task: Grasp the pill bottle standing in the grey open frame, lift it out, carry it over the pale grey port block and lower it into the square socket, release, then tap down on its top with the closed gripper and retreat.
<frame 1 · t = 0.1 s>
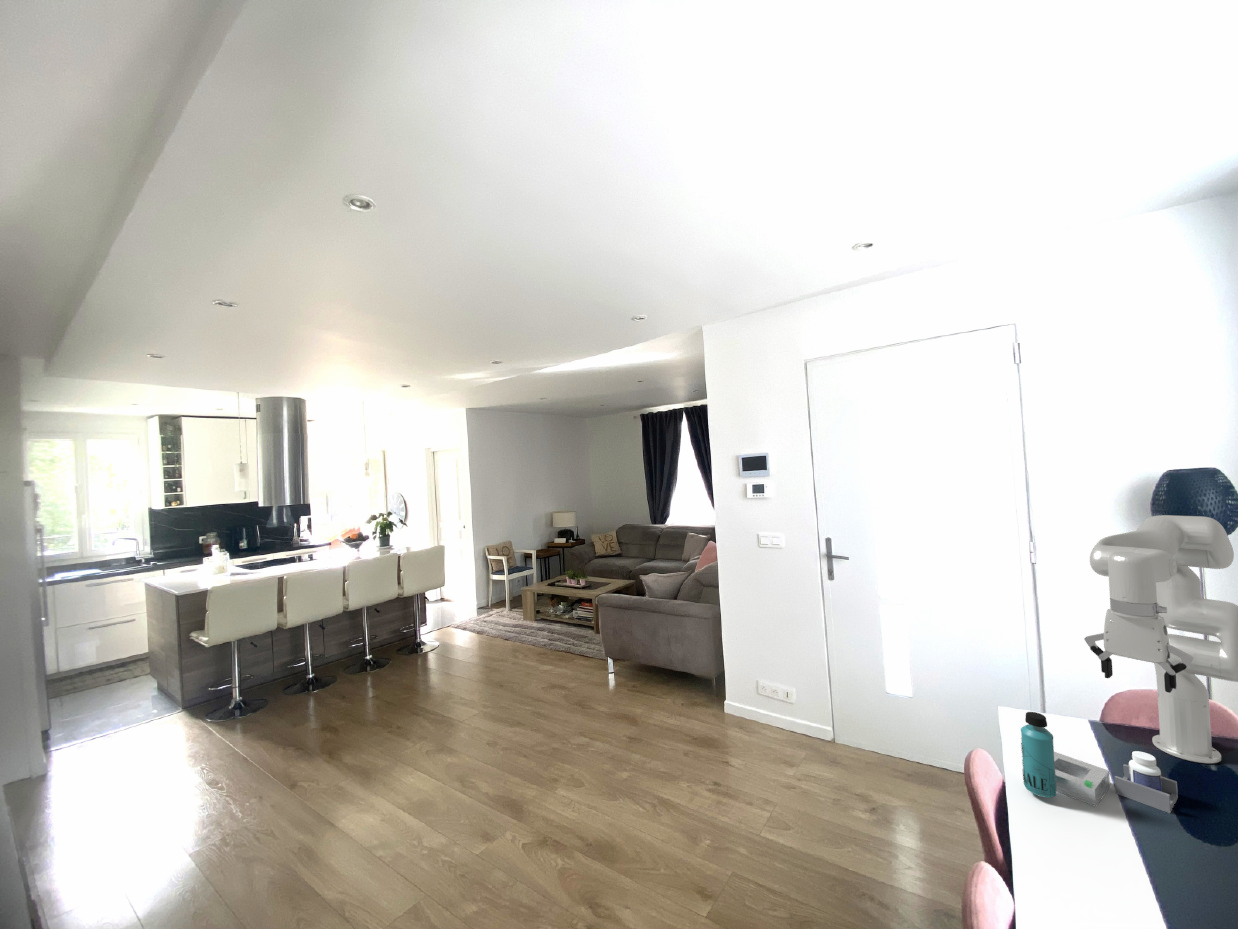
hand: (1137, 683, 113), 31 cm above the table, fingers open, 9 cm apart
beverage bottle: (1040, 796, 123), on the table
port: (1070, 784, 127), on the table
grey open frame: (1146, 795, 121), on the table
pill bottle: (1146, 796, 121), resting in grey open frame
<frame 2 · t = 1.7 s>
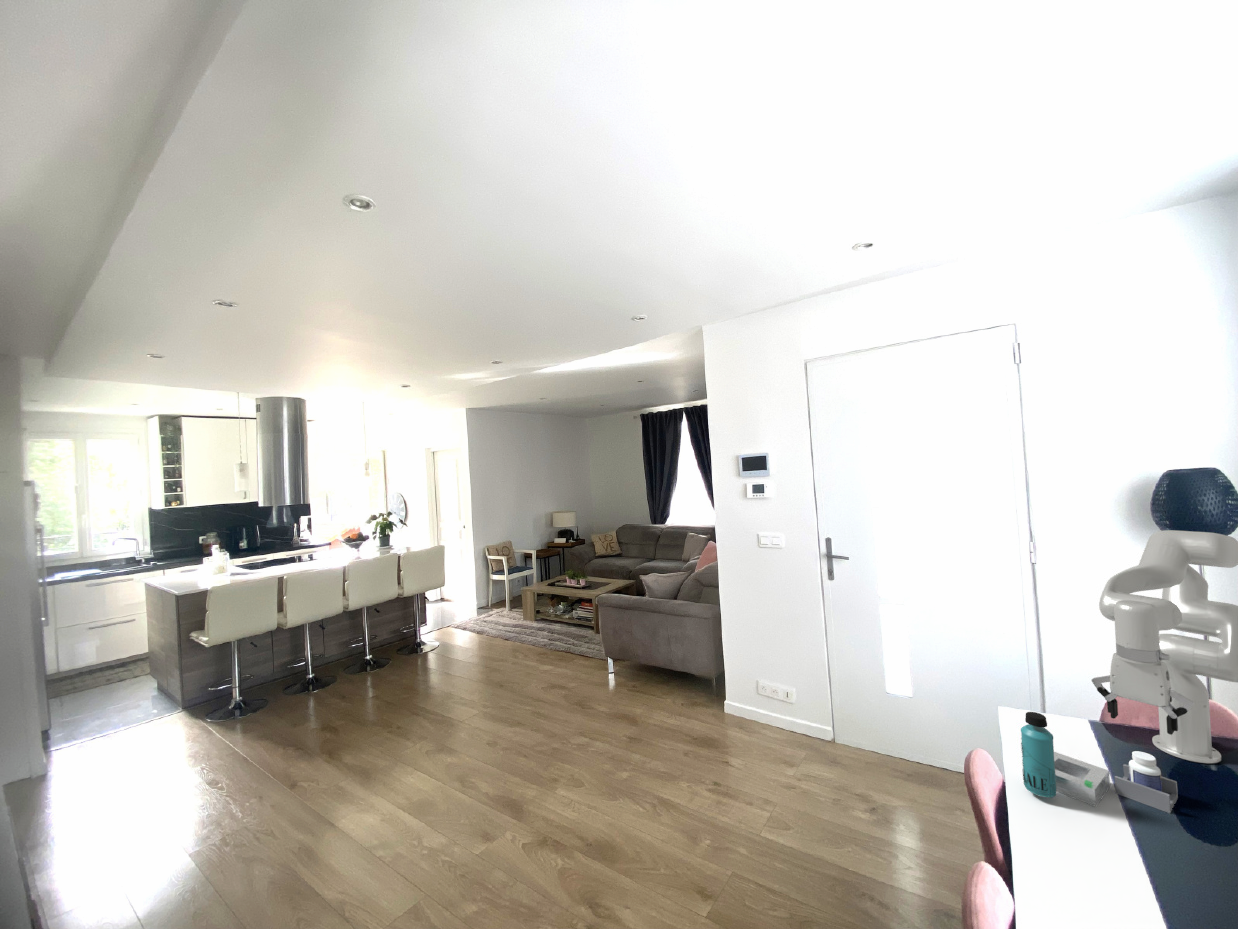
hand: (1141, 724, 122), 17 cm above the table, fingers open, 9 cm apart
nothing on the table moved.
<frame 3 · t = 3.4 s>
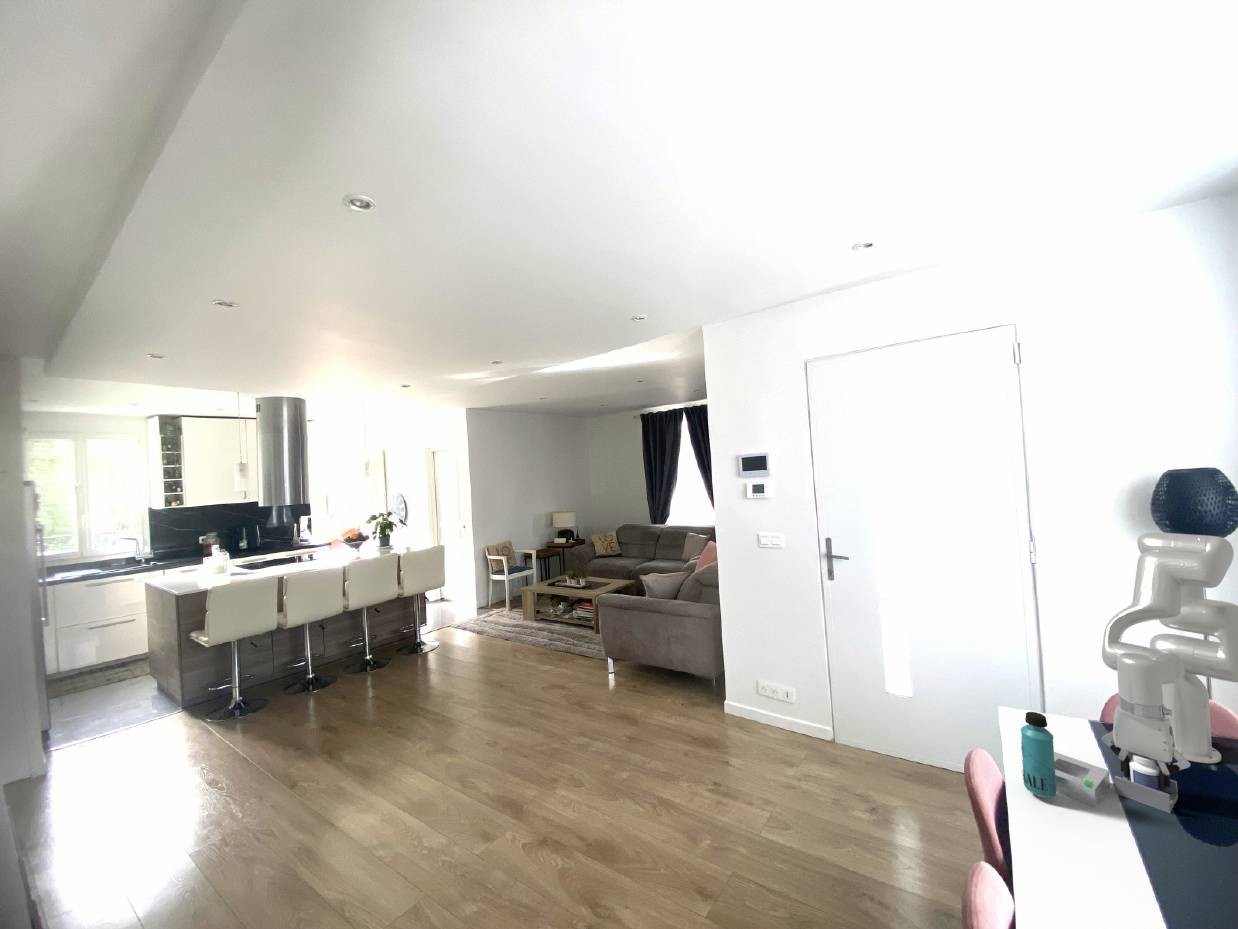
hand: (1145, 781, 122), 4 cm above the table, fingers closed on pill bottle, 5 cm apart
pill bottle: (1146, 796, 121), resting in grey open frame, touching gripper
everything else where it was.
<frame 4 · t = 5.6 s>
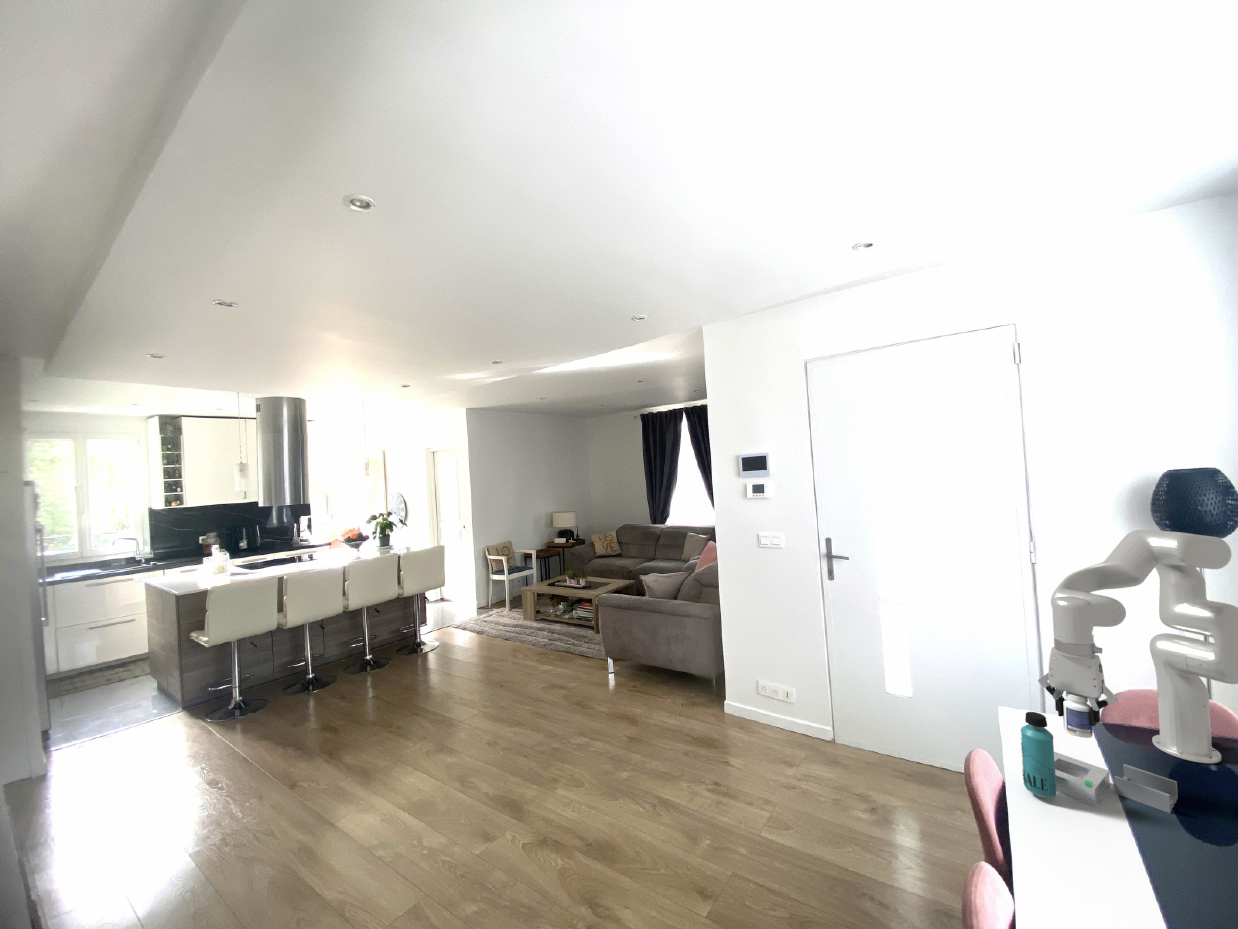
hand: (1077, 718, 126), 17 cm above the table, fingers closed on pill bottle, 5 cm apart
pill bottle: (1078, 734, 126), point 13 cm above the table, touching gripper
everything else where it was.
when the fingers open (5 cm above the table, at t = 7.8 s): pill bottle drops 1 cm, resting in port.
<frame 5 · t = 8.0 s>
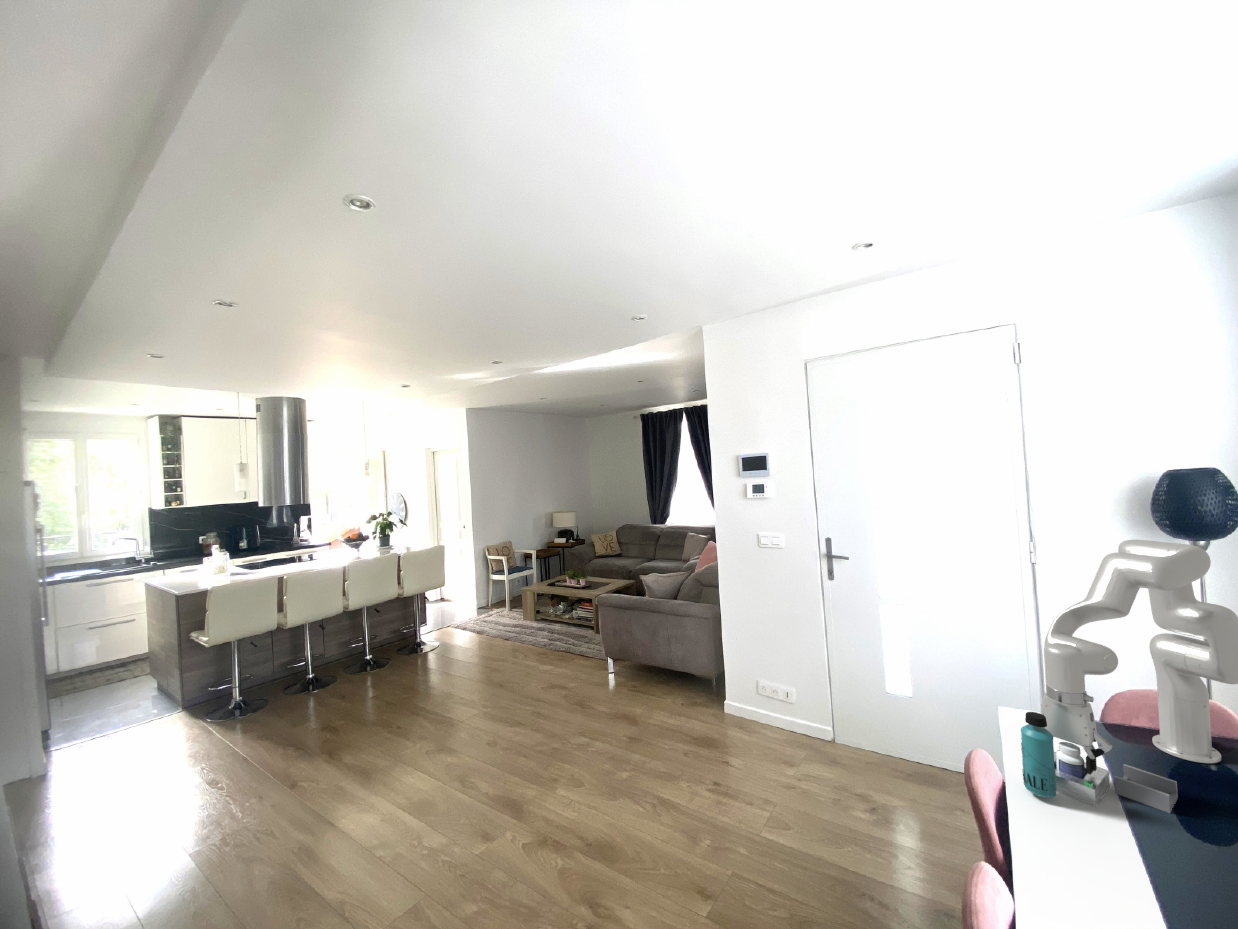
hand: (1069, 764, 127), 5 cm above the table, fingers open, 7 cm apart
pill bottle: (1070, 785, 127), resting in port
everything else where it was.
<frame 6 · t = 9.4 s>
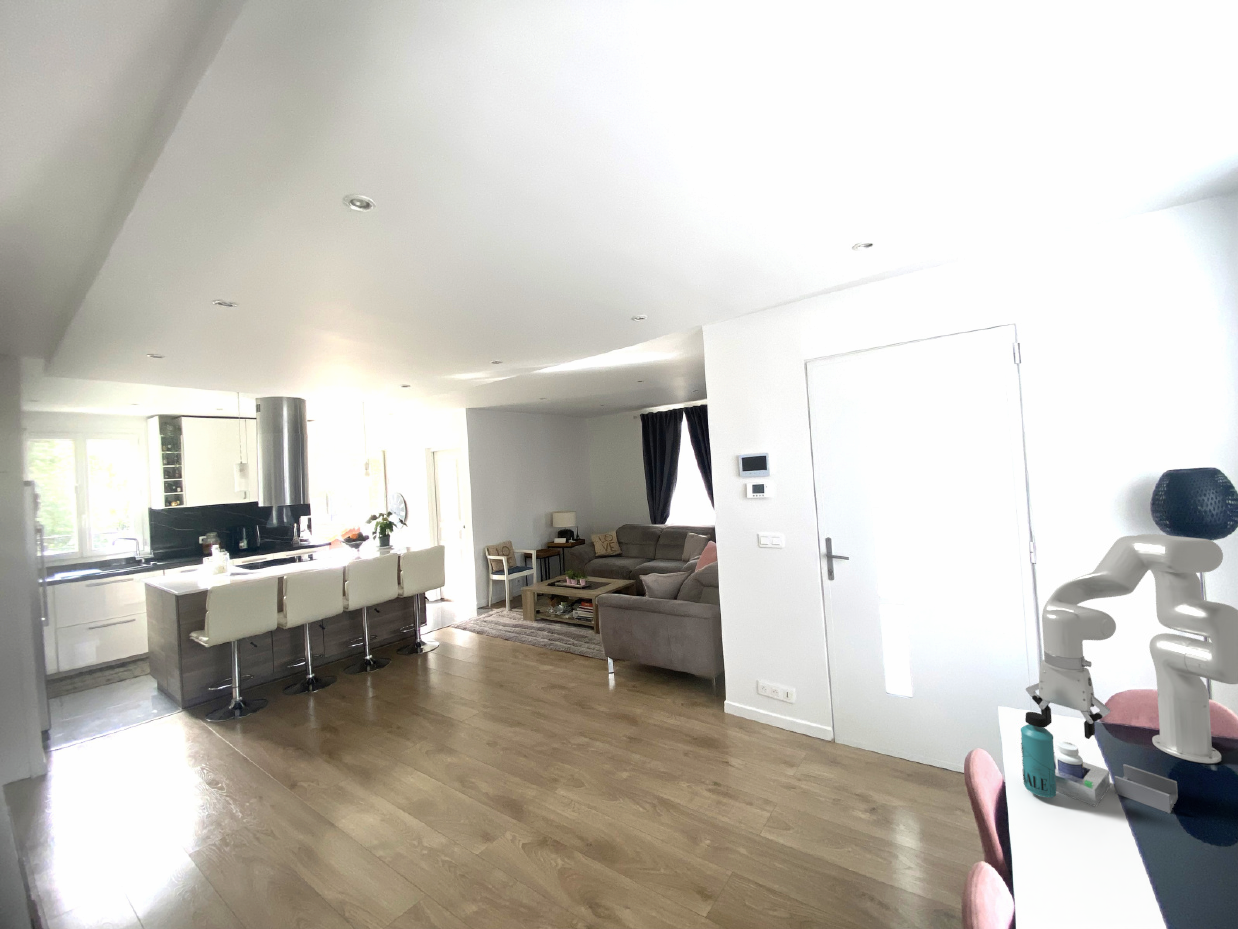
hand: (1067, 729, 127), 14 cm above the table, fingers open, 7 cm apart
nothing on the table moved.
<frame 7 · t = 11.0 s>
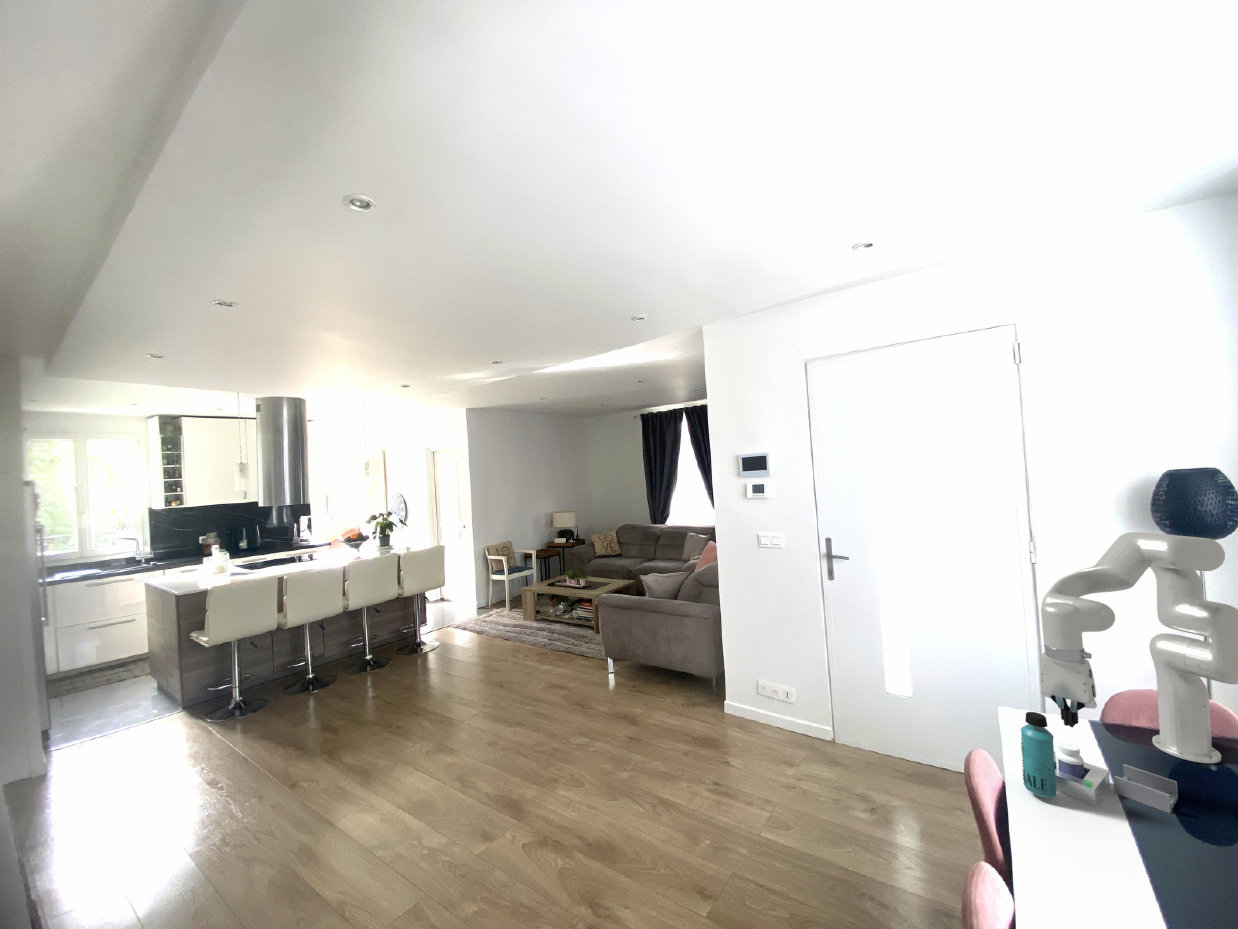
hand: (1070, 724, 127), 15 cm above the table, fingers closed
nothing on the table moved.
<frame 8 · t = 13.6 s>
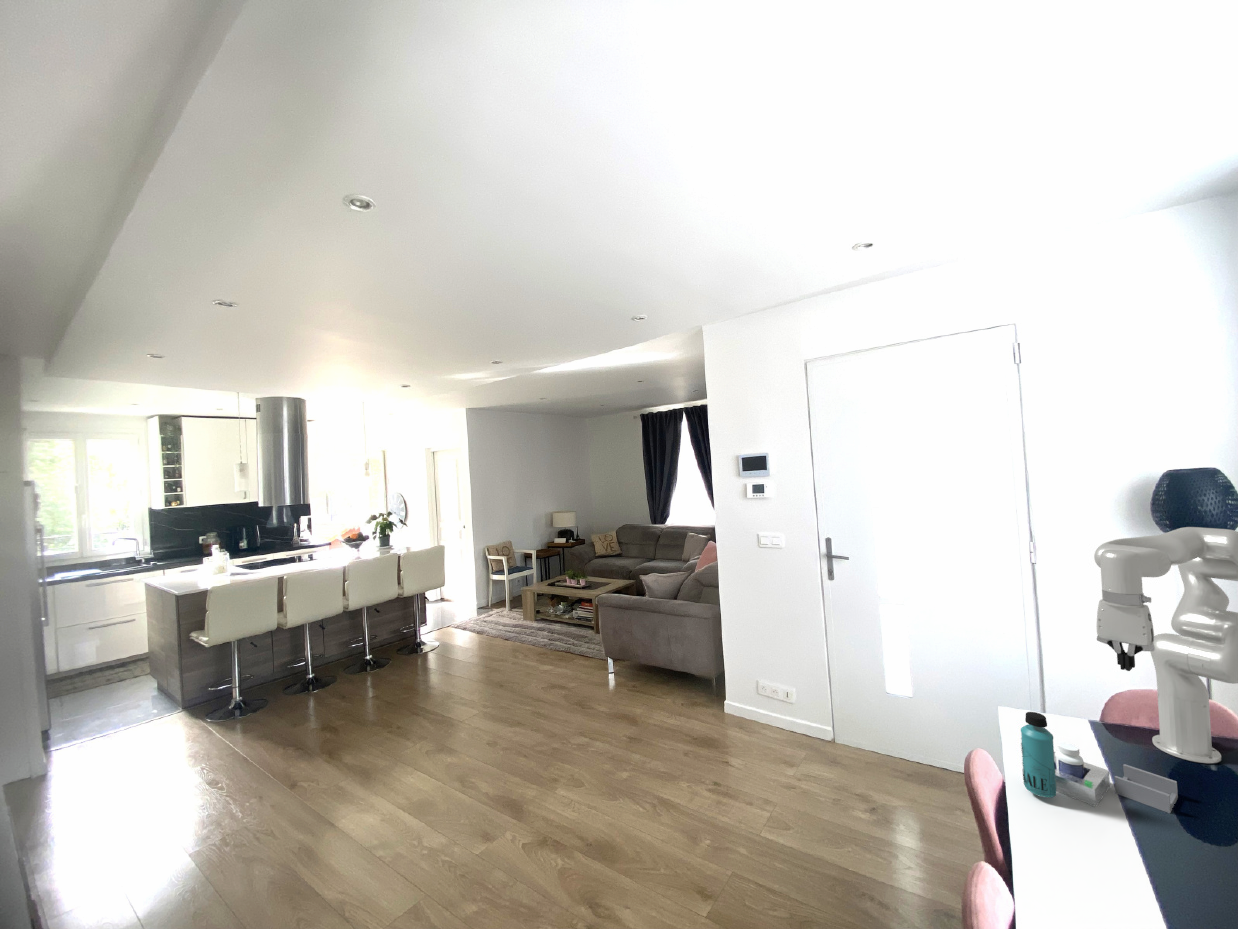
hand: (1126, 668, 130), 27 cm above the table, fingers closed
nothing on the table moved.
at the end: pill bottle 0.1 cm off-centre on the port, point 0.0 cm above the port's base; pill bottle tilted 1°; the gripper is holding nothing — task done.
